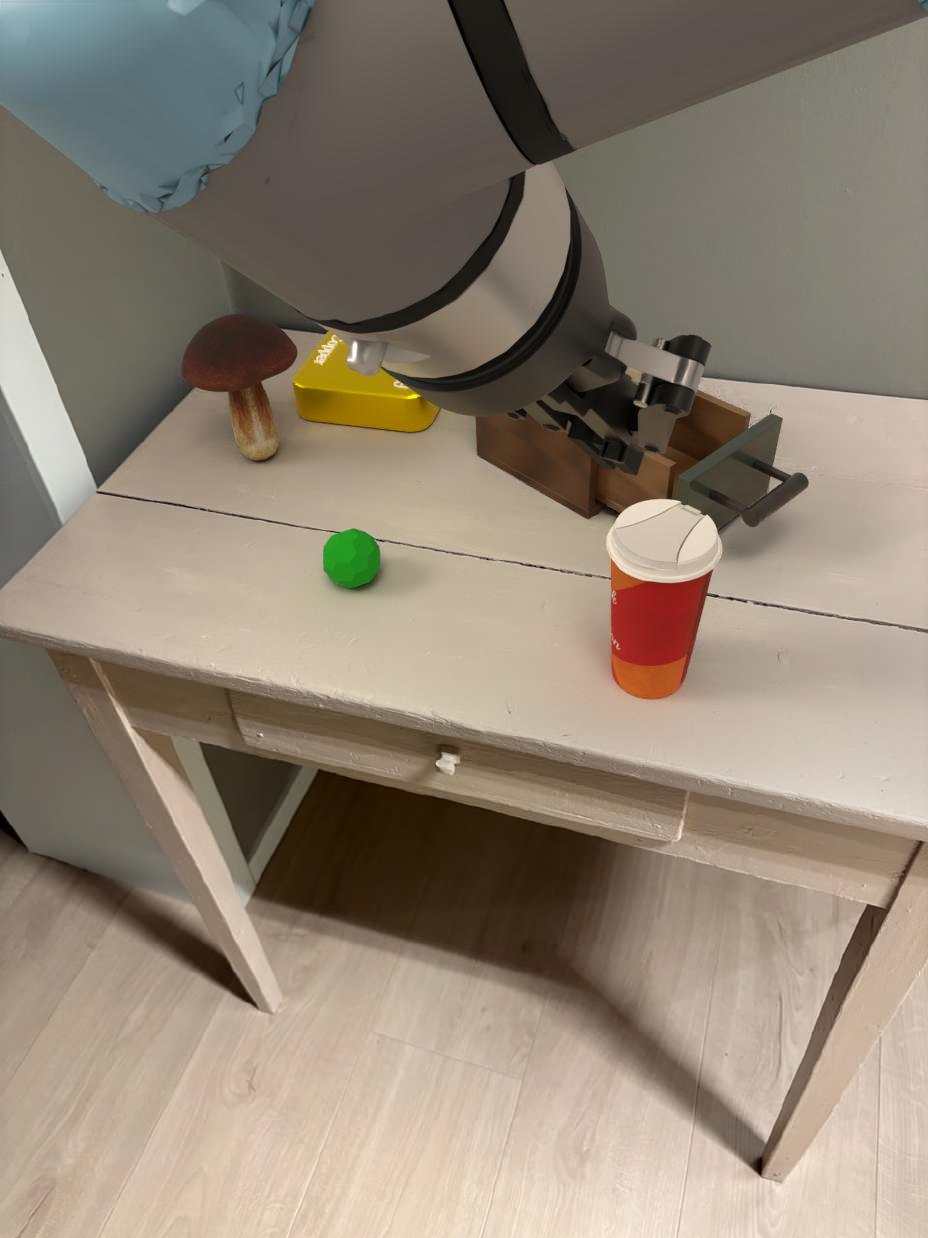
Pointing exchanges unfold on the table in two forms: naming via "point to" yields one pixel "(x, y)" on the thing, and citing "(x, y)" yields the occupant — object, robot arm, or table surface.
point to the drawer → (710, 467)
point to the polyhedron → (351, 558)
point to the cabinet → (540, 460)
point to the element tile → (356, 393)
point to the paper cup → (658, 592)
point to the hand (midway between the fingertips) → (626, 445)
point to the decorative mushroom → (241, 374)
